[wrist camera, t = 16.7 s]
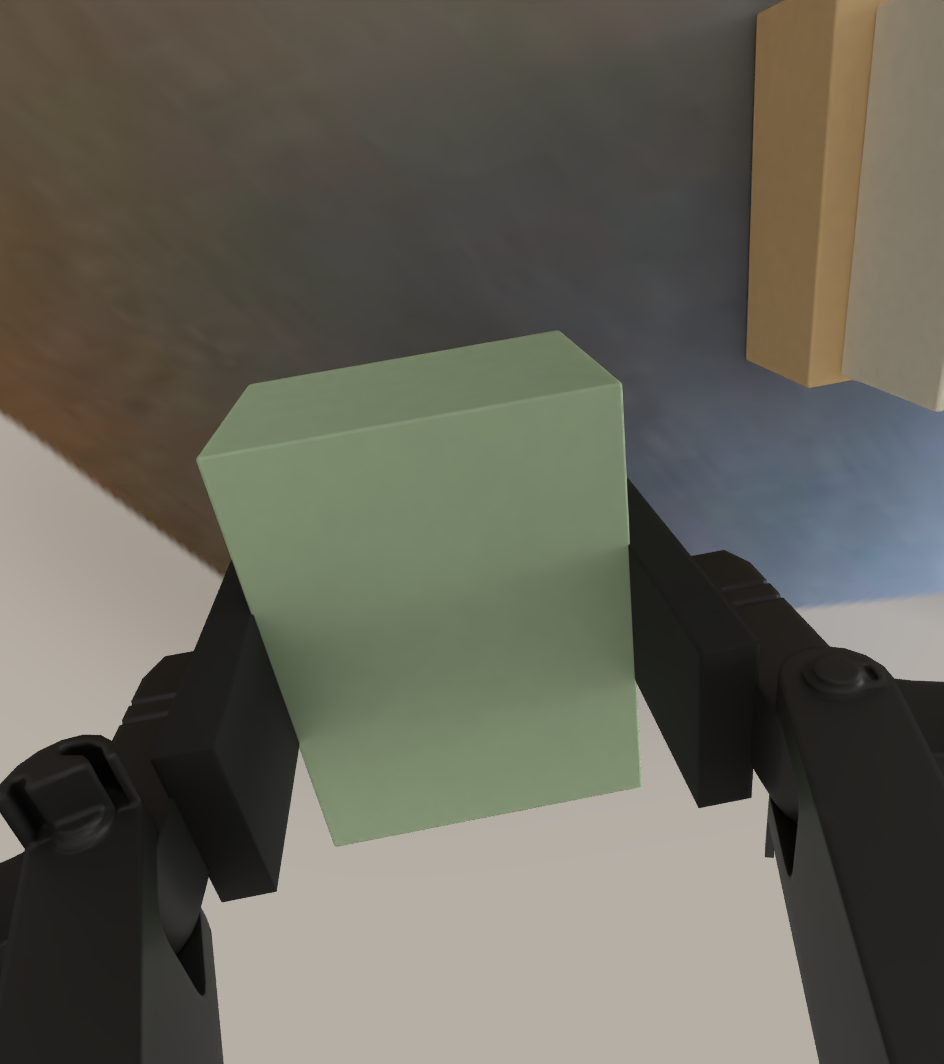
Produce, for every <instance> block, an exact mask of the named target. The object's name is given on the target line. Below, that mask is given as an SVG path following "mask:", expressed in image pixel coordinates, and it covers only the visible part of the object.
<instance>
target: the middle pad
mask: <svg viewBox="0 0 944 1064" xmlns="http://www.w3.org/2000/svg"><path fill="white" fill-rule="evenodd" d="M841 374H842V375H844V376H846V377H849V378H851V379H854V380H856V381H859V382H862V383H864V384H867V385H869V386H872V387H874V388H877V389H879V390H882V391H884V392H887V393H889V394H892V395H894V396H897V397H899V398H902V399H905V400H907V401H910V402H912V403H915V404H917V405H920V406H922V407H925V408H927V409H930V410H932V411H935V412H940V411H944V0H891V1H889V2H886V3H883V4H881V5H879V6H878V8H877V12H876V22H875V32H874V43H873V53H872V63H871V73H870V83H869V94H868V104H867V114H866V124H865V134H864V145H863V155H862V165H861V175H860V185H859V195H858V206H857V216H856V226H855V236H854V246H853V257H852V267H851V277H850V287H849V297H848V308H847V318H846V328H845V338H844V348H843V359H842V369H841Z"/></svg>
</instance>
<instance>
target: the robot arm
mask: <svg viewBox="0 0 944 1064" xmlns="http://www.w3.org/2000/svg"><path fill="white" fill-rule="evenodd" d="M627 496H628V516H629V537H630V544H629V545H628V552H629V572H630V592H631V612H632V632H633V652H634V672H635V681H636V683H637V685H638V687H639V689H640V690H641V693H642V695H643V697H644V698H645V701H646V703H647V705H648V707H649V709H650V711H651V713H652V715H653V717H654V719H655V721H656V723H657V725H658V727H659V729H660V731H661V733H662V735H663V737H664V739H665V741H666V743H667V745H668V747H669V749H670V751H671V753H672V755H673V757H674V759H675V761H676V763H677V765H678V767H679V769H680V771H681V773H682V775H683V777H684V779H685V781H686V783H687V785H688V787H689V789H690V791H691V793H692V795H693V797H694V799H695V801H696V803H697V805H698V808H702V807H707V806H712V805H717V804H722V803H727V802H732V801H737V800H742V799H747V798H751V795H752V779H753V769H754V770H755V772H756V774H757V775H758V777H759V779H760V780H761V782H762V783H763V785H764V786H765V788H766V790H767V791H768V793H769V805H768V818H767V830H766V843H765V845H766V846H765V857H771V858H773V857H774V851H775V856H776V861H777V865H778V870H779V874H780V879H781V884H782V889H783V894H784V899H785V903H786V908H787V913H788V917H789V922H790V927H791V931H792V936H793V941H794V946H795V950H796V955H797V960H798V964H799V969H800V974H801V978H802V983H803V988H804V993H805V998H806V1002H807V1007H808V1012H809V1016H810V1021H811V1026H812V1030H813V1035H814V1040H815V1045H816V1050H817V1054H818V1059H819V1064H944V682H933V681H911V680H902V679H894V678H893V677H892V675H891V674H890V673H889V672H888V671H887V669H886V668H885V667H884V666H882V665H881V664H879V663H878V662H876V661H874V660H873V659H871V658H870V657H868V656H866V655H863V654H860V653H857V652H854V651H851V650H848V649H845V648H836V647H830V646H829V645H828V644H827V643H826V642H825V641H824V640H823V639H822V638H821V637H820V636H819V635H818V634H817V633H816V631H815V630H814V629H813V628H812V627H811V626H810V625H809V624H808V623H807V622H806V621H805V620H804V619H803V618H802V617H801V616H800V615H799V614H798V613H797V612H796V610H795V609H794V608H793V607H792V606H791V605H790V604H789V603H788V602H787V601H786V600H785V599H784V598H781V597H780V594H779V593H778V591H777V590H776V589H775V588H774V587H773V586H772V585H771V584H770V583H768V584H767V581H766V579H765V578H764V577H763V576H762V575H761V574H760V573H759V571H758V570H757V569H756V568H755V567H754V566H753V565H752V564H751V563H750V562H748V561H746V560H744V559H742V558H740V557H738V556H735V555H733V554H731V553H729V552H727V551H725V550H722V551H716V552H711V553H706V554H700V555H695V556H690V554H689V553H688V552H687V551H686V549H685V548H684V547H683V546H682V545H681V543H680V542H679V541H678V540H677V538H676V537H675V536H674V535H673V533H672V532H671V531H670V530H669V528H668V527H667V526H666V525H665V523H664V522H663V521H662V520H661V519H660V517H659V516H658V515H657V514H656V512H655V511H654V510H653V509H652V507H651V506H650V505H649V504H648V502H647V501H646V500H645V499H644V498H643V496H642V495H641V494H640V493H639V491H638V490H637V489H636V488H635V486H634V485H633V484H632V483H631V481H630V480H629V479H628V478H627ZM131 702H132V706H129V707H128V709H127V711H126V713H125V715H124V717H123V720H122V722H123V724H122V725H120V726H119V728H118V730H117V732H116V734H115V736H114V738H113V740H112V741H111V740H109V739H107V738H105V737H103V736H102V735H81V736H76V737H72V738H68V739H65V740H61V741H59V742H57V743H55V744H53V745H50V746H48V747H46V748H44V749H42V750H40V751H38V752H37V753H35V754H34V755H32V756H31V757H30V758H28V759H27V760H25V761H24V762H22V763H21V764H20V765H18V766H17V767H16V768H15V769H14V770H13V771H12V772H11V773H10V774H9V775H8V776H7V778H6V779H5V780H4V781H3V782H2V783H1V784H0V813H1V815H2V816H3V817H4V819H5V820H6V822H7V823H8V825H9V826H10V828H11V829H12V831H13V832H14V834H15V835H16V837H17V838H18V840H19V841H20V842H21V844H22V845H23V847H24V848H25V851H24V852H23V853H21V854H19V855H17V856H15V857H13V858H11V859H9V860H6V861H4V862H2V863H0V1064H223V1054H222V1042H221V1031H220V1021H219V1010H218V999H217V988H216V977H215V966H214V956H213V945H212V934H211V929H210V927H209V923H208V921H207V918H206V916H205V914H204V912H203V910H202V909H201V904H202V900H203V897H204V893H205V889H206V885H207V881H208V877H209V878H210V880H211V882H212V884H213V886H214V888H215V890H216V891H217V894H218V895H219V898H220V900H221V902H226V901H231V900H236V899H241V898H246V897H251V896H256V895H261V894H266V893H272V892H276V891H277V885H278V878H279V872H280V866H281V859H282V853H283V847H284V840H285V834H286V828H287V821H288V814H289V808H290V802H291V795H292V789H293V782H294V776H295V770H296V763H297V757H298V750H299V744H300V743H299V740H298V738H297V735H296V732H295V729H294V726H293V724H292V721H291V718H290V715H289V712H288V710H287V707H286V704H285V701H284V698H283V696H282V693H281V690H280V687H279V684H278V682H277V679H276V676H275V673H274V670H273V668H272V665H271V662H270V659H269V656H268V654H267V651H266V648H265V645H264V642H263V640H262V637H261V634H260V631H259V628H258V626H257V623H256V620H255V617H254V614H251V612H250V609H249V606H248V603H247V601H246V598H245V595H244V592H243V589H242V587H241V584H240V581H239V578H238V575H237V573H236V570H235V567H234V564H233V562H232V560H231V562H230V564H229V567H228V569H227V572H226V574H225V577H224V579H223V581H222V584H221V586H220V589H219V591H218V594H217V596H216V598H215V601H214V603H213V606H212V608H211V611H210V613H209V615H208V618H207V620H206V623H205V625H204V627H203V630H202V632H201V635H200V637H199V640H198V642H197V645H196V647H195V649H194V651H191V652H186V653H181V654H175V655H170V656H165V657H164V658H163V659H162V660H161V661H160V662H159V663H158V664H157V665H156V666H155V667H154V668H153V669H152V670H151V671H150V672H149V673H148V674H147V675H146V676H145V677H144V678H143V679H142V681H141V683H140V685H139V687H138V689H137V691H136V693H135V695H134V697H133V699H132V701H131Z"/></svg>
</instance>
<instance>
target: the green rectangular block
mask: <svg viewBox="0 0 944 1064" xmlns="http://www.w3.org/2000/svg"><path fill="white" fill-rule="evenodd" d="M197 464H198V467H199V470H200V472H201V475H202V478H203V481H204V484H205V486H206V489H207V492H208V495H209V497H210V500H211V503H212V506H213V509H214V511H215V514H216V517H217V520H218V523H219V525H220V528H221V531H222V534H223V536H224V539H225V542H226V545H227V548H228V550H229V553H230V556H231V559H232V562H233V564H234V567H235V570H236V573H237V575H238V578H239V581H240V584H241V587H242V589H243V592H244V595H245V598H246V601H247V603H248V606H249V609H250V612H251V614H254V617H255V620H256V623H257V626H258V628H259V631H260V634H261V637H262V640H263V642H264V645H265V648H266V651H267V654H268V656H269V659H270V662H271V665H272V668H273V670H274V673H275V676H276V679H277V682H278V684H279V687H280V690H281V693H282V696H283V698H284V701H285V704H286V707H287V710H288V712H289V715H290V718H291V721H292V724H293V726H294V729H295V732H296V735H297V738H298V740H299V743H300V744H299V748H300V751H301V753H302V757H303V759H304V762H305V765H306V768H307V770H308V773H309V776H310V779H311V782H312V784H313V787H314V790H315V793H316V796H317V798H318V801H319V804H320V807H321V809H322V812H323V815H324V818H325V821H326V823H327V826H328V829H329V832H330V834H331V837H332V840H333V843H334V845H335V846H343V845H348V844H353V843H358V842H363V841H368V840H373V839H378V838H383V837H388V836H393V835H398V834H404V833H409V832H414V831H419V830H424V829H429V828H434V827H439V826H444V825H449V824H455V823H460V822H465V821H470V820H475V819H480V818H485V817H490V816H495V815H500V814H505V813H510V812H516V811H521V810H526V809H531V808H536V807H541V806H546V805H551V804H556V803H562V802H567V801H571V800H577V799H582V798H587V797H592V796H597V795H602V794H608V793H613V792H617V791H623V790H628V789H633V788H638V787H641V764H640V742H639V724H638V723H639V722H638V701H637V683H636V681H635V672H634V652H633V632H632V612H631V592H630V572H629V552H628V545H629V544H630V537H629V516H628V496H627V475H626V454H625V434H624V413H623V393H622V384H621V382H620V381H618V380H617V379H616V378H615V377H614V376H613V375H611V374H610V373H609V372H608V371H607V370H605V369H604V368H603V367H602V366H601V365H599V364H598V363H597V362H596V361H595V360H593V359H592V358H591V357H590V356H589V355H588V354H586V353H585V352H584V351H583V350H582V349H580V348H579V347H578V346H577V345H576V344H574V343H573V342H572V341H571V340H570V339H568V338H567V337H566V336H565V335H564V334H562V333H561V332H560V331H558V330H556V331H551V332H545V333H539V334H534V335H528V336H522V337H517V338H511V339H505V340H500V341H494V342H488V343H483V344H477V345H471V346H465V347H460V348H454V349H448V350H443V351H437V352H431V353H426V354H420V355H414V356H409V357H403V358H397V359H392V360H386V361H380V362H374V363H369V364H363V365H357V366H352V367H346V368H340V369H335V370H329V371H323V372H318V373H312V374H306V375H301V376H295V377H289V378H284V379H278V380H272V381H266V382H261V383H255V384H250V385H248V386H247V388H246V389H245V391H244V392H243V394H242V395H241V396H240V398H239V399H238V401H237V402H236V403H235V405H234V406H233V408H232V409H231V410H230V412H229V413H228V415H227V416H226V418H225V419H224V420H223V422H222V423H221V425H220V426H219V427H218V429H217V430H216V432H215V433H214V434H213V436H212V437H211V439H210V440H209V442H208V443H207V444H206V446H205V447H204V449H203V450H202V451H201V453H200V454H199V456H198V457H197Z"/></svg>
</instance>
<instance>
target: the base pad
mask: <svg viewBox="0 0 944 1064" xmlns="http://www.w3.org/2000/svg"><path fill="white" fill-rule="evenodd" d="M889 1H891V0H785V1H782V2H780V3H778V4H776V5H774V6H772V7H770V8H768V9H766V10H763V11H761V12H760V13H758V15H757V29H756V61H755V93H754V125H753V157H752V189H751V221H750V253H749V284H748V316H747V348H746V359H747V360H748V361H750V362H753V363H755V364H757V365H759V366H761V367H764V368H766V369H768V370H770V371H772V372H774V373H777V374H779V375H781V376H783V377H785V378H788V379H790V380H792V381H794V382H796V383H798V384H801V385H803V386H805V387H807V388H812V387H818V386H823V385H828V384H834V383H839V382H844V381H850V380H854V379H851V378H849V377H846V376H844V375H842V374H841V369H842V359H843V348H844V338H845V328H846V318H847V308H848V297H849V287H850V277H851V267H852V257H853V246H854V236H855V226H856V216H857V206H858V195H859V185H860V175H861V165H862V155H863V145H864V134H865V124H866V114H867V104H868V94H869V83H870V73H871V63H872V53H873V43H874V32H875V22H876V12H877V8H878V6H879V5H881V4H883V3H886V2H889Z"/></svg>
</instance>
